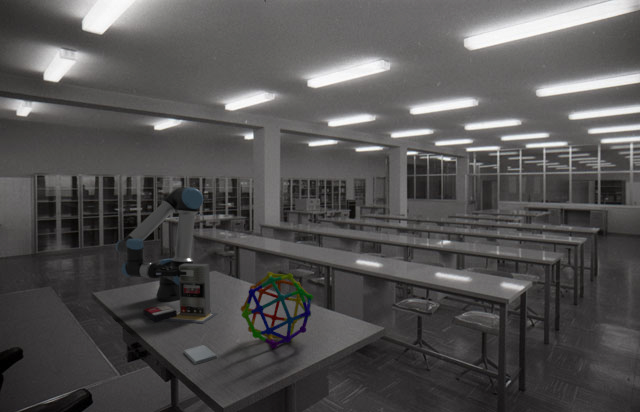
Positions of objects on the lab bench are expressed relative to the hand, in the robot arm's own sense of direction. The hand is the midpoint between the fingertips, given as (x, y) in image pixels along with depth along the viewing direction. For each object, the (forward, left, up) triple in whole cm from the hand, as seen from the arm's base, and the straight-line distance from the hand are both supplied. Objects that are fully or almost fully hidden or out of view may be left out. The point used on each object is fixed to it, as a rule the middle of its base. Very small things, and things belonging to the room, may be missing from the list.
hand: (194, 272), depth 181 cm
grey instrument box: (-3, -2, -22) cm, 22 cm away
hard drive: (+37, +24, -23) cm, 50 cm away
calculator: (+2, -18, -23) cm, 29 cm away
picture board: (0, -2, -22) cm, 22 cm away
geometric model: (+21, +50, -23) cm, 58 cm away
